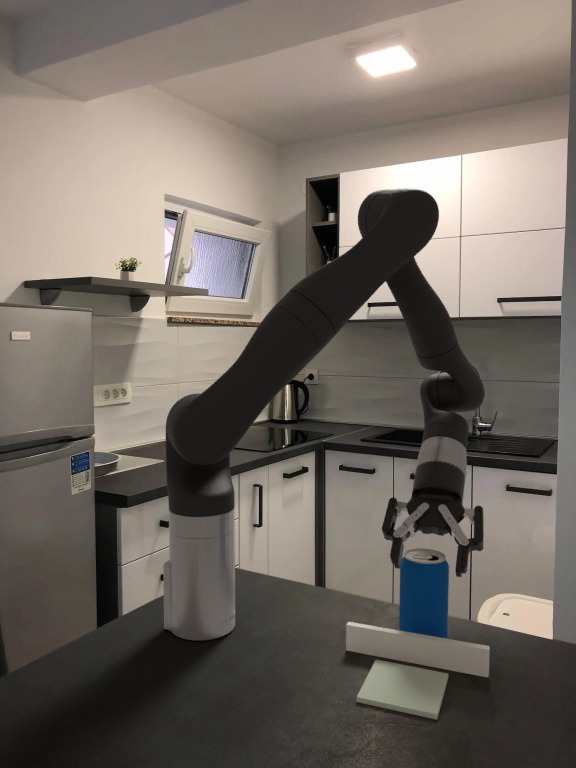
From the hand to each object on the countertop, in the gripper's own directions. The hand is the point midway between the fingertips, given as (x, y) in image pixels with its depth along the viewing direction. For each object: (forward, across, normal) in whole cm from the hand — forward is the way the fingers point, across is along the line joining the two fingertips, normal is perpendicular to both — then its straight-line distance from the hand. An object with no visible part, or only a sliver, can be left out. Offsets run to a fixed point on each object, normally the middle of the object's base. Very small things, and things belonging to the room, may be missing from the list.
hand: (427, 570), depth 88 cm
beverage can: (+8, 0, +5) cm, 10 cm away
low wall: (+12, 0, 0) cm, 12 cm away
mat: (+17, 0, -5) cm, 18 cm away
